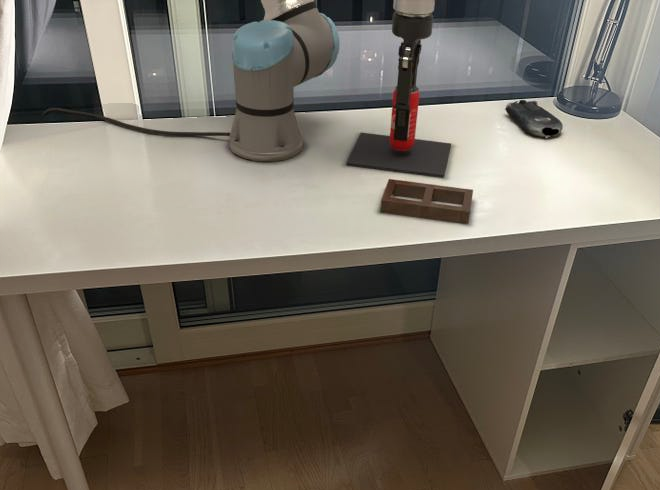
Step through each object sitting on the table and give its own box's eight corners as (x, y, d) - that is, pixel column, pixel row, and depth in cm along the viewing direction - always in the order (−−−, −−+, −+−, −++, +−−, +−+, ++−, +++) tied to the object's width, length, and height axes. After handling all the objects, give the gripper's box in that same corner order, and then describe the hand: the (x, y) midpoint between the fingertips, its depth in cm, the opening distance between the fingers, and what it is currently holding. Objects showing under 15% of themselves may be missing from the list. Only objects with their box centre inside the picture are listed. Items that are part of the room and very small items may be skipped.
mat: (346, 165, 143) (346, 162, 143) (360, 134, 155) (360, 132, 155) (443, 177, 141) (444, 175, 140) (450, 146, 153) (451, 143, 152)
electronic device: (499, 122, 168) (533, 138, 156) (504, 97, 165) (539, 112, 153) (532, 124, 171) (568, 140, 159) (538, 100, 169) (574, 114, 157)
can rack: (380, 212, 129) (381, 199, 127) (387, 190, 136) (388, 178, 134) (468, 224, 127) (470, 211, 125) (471, 201, 134) (473, 189, 132)
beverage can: (412, 153, 145) (418, 94, 137) (387, 150, 145) (391, 91, 137) (415, 143, 148) (421, 85, 141) (391, 140, 149) (395, 82, 141)
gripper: (428, 27, 123) (414, 154, 138) (438, 2, 136) (425, 119, 151) (385, 23, 124) (377, 149, 139) (400, -2, 137) (391, 115, 152)
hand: (402, 133), depth 145 cm, fingers closed on beverage can, 5 cm apart
